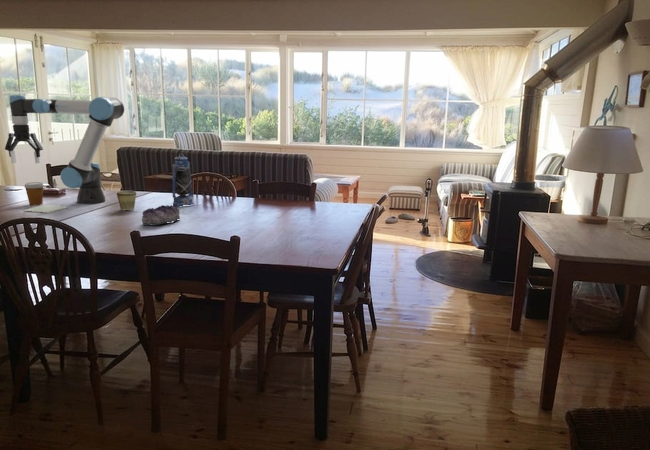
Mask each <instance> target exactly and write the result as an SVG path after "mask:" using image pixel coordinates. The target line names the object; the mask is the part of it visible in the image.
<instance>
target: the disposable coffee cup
mask: <svg viewBox="0 0 650 450" xmlns="http://www.w3.org/2000/svg"><path fill="white" fill-rule="evenodd" d="M24 188H25V191H26V195H27V199H28V204H29V205H30V206H42V205H43V201H44V200H43V199H44V194H43V193H44V183H43V182H40V181H39V182H38V181H35V182H33V181H32V182H25V183H24Z"/></svg>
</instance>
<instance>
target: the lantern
mask: <svg viewBox="0 0 650 450" xmlns="http://www.w3.org/2000/svg"><path fill="white" fill-rule="evenodd" d="M181 155H182V156H181ZM174 159H175V161H174V163H173V164H172V165H171V166H172V198H173V201H172V204H173V205H174V204H176V205H177V206H183V205H191V204H194V202H193V198H192V197H191V196H192V195H193V189H192V188H193V187H192V175H191V162H190V161H188V159H189V158H188V157H186V156H184V153H179V154H178V156H175V157H174ZM176 195H178V196H176Z"/></svg>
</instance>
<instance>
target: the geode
mask: <svg viewBox="0 0 650 450" xmlns="http://www.w3.org/2000/svg"><path fill="white" fill-rule="evenodd" d="M180 217H181V216H180V210H179V207H177V205H176V204H174V205H173V206H172V204H171V205H169V204H168V205H167V204H166V205H162V204H161V205H159V206H158V207H156V208H154V207H151V208H147V209H146V210H143V211H142V218H141V222H142V225H143V224H155V225H154V226H160V224H161V225H164V224H163V223H165V224H168V223H167V222H172V221H175V220H176V221H178V220H177V219H180V220H181V218H180ZM176 221H175V222H176Z"/></svg>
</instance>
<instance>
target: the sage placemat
mask: <svg viewBox="0 0 650 450" xmlns="http://www.w3.org/2000/svg"><path fill="white" fill-rule="evenodd" d="M65 209H69V206H64V205H63V206H62V205H61V206H60V205H51V204H50V205H49V204H48V205H47V204H44V205H43V204H42V205H37V206H34V207H29V208H27V209H23V210H22V211H23V212H27V211H32V212H31V213H39V212H43V213H42V214H50V212H51V213H54V211H55V212H58V211H61V210H65Z"/></svg>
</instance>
